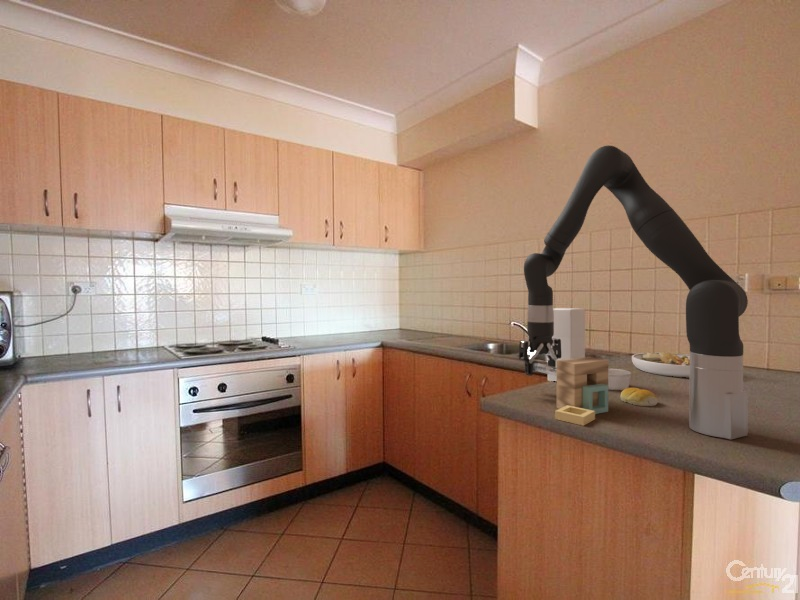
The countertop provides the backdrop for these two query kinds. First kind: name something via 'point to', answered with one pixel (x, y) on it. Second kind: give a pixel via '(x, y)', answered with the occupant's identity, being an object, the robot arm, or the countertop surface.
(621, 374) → the ramekin
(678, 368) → the bowl
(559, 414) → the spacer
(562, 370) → the block
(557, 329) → the tall white carton
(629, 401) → the bread roll
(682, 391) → the countertop surface
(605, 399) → the frame
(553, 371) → the shaft
